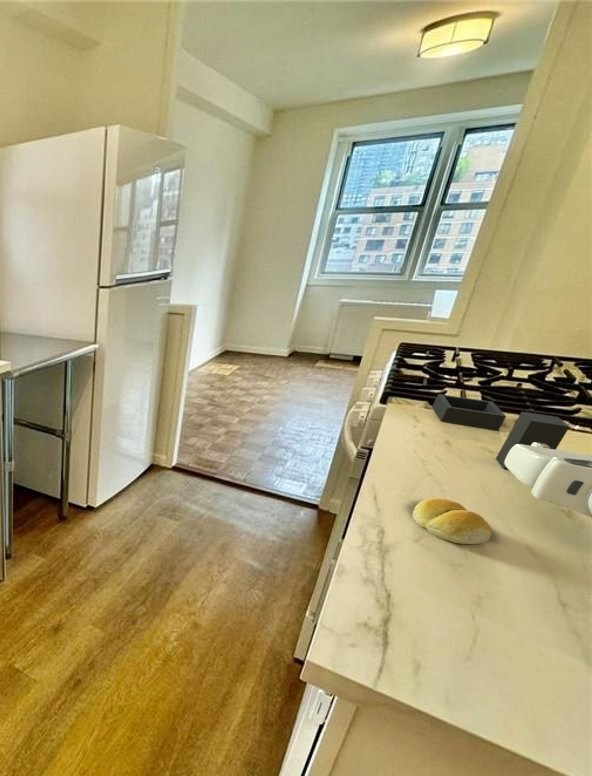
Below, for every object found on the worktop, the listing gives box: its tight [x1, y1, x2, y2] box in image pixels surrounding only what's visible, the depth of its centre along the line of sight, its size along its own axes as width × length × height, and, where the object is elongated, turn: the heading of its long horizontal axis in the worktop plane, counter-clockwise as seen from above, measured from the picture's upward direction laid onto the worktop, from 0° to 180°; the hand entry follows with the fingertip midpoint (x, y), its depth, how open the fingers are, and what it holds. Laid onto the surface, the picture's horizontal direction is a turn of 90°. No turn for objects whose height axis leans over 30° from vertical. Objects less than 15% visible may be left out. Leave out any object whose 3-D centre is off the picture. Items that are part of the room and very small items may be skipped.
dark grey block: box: [495, 411, 570, 471], centre depth 89 cm, size 5×5×10 cm
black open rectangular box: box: [432, 393, 507, 431], centre depth 112 cm, size 10×10×4 cm
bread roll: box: [412, 497, 492, 545], centre depth 74 cm, size 8×9×4 cm
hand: (575, 452), depth 78 cm, fingers open, 8 cm apart
